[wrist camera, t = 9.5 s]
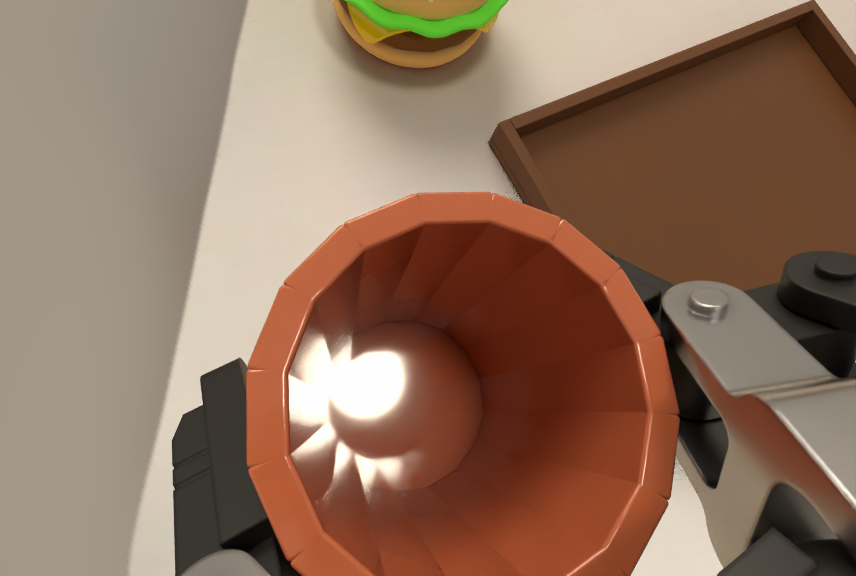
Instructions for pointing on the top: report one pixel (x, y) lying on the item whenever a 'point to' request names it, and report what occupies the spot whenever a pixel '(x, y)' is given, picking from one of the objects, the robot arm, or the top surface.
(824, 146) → the tray
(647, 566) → the top surface
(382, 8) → the hamburger
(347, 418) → the reddish brown cup
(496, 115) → the top surface
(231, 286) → the top surface
